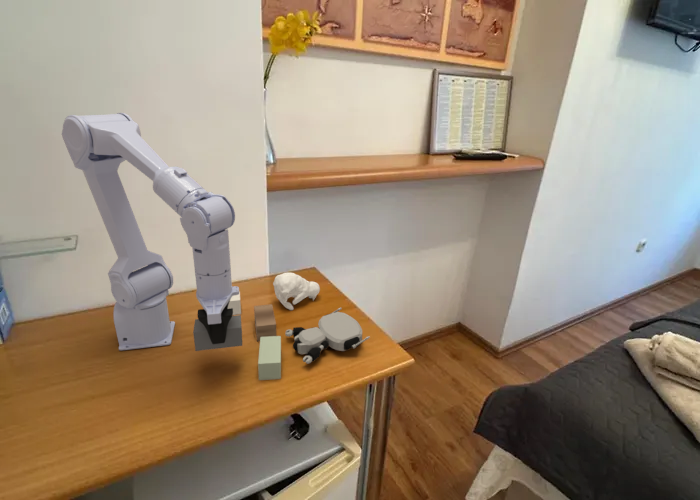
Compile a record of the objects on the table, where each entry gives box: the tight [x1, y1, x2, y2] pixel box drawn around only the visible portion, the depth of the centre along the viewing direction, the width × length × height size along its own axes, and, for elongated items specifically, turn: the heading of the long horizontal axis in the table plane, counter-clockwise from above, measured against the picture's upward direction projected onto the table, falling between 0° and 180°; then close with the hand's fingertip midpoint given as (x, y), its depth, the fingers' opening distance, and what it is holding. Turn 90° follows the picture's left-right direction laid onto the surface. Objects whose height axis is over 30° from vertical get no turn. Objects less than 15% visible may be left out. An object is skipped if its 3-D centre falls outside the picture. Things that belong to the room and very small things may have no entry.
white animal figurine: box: [272, 272, 321, 311], centre depth 95 cm, size 6×8×12 cm
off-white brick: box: [227, 291, 242, 316], centre depth 90 cm, size 8×4×4 cm, turn 106°
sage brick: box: [257, 335, 282, 381], centre depth 75 cm, size 8×4×4 cm, turn 9°
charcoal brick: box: [192, 314, 243, 352], centre depth 70 cm, size 8×4×4 cm, turn 105°
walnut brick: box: [253, 303, 277, 342], centre depth 85 cm, size 8×4×4 cm, turn 16°
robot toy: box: [284, 307, 371, 365], centre depth 81 cm, size 12×4×15 cm
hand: (218, 334), depth 71 cm, fingers closed on charcoal brick, 4 cm apart
